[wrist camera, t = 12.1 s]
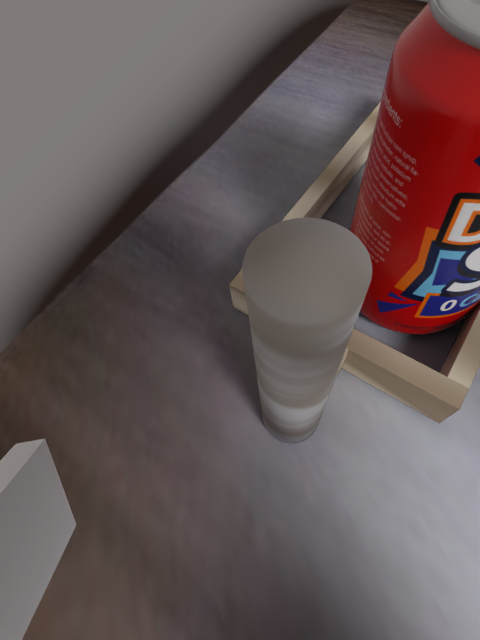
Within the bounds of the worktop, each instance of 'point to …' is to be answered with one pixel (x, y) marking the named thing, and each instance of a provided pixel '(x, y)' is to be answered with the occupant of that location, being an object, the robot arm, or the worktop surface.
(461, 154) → the soda can
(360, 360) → the birch pull frame
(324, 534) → the worktop surface
